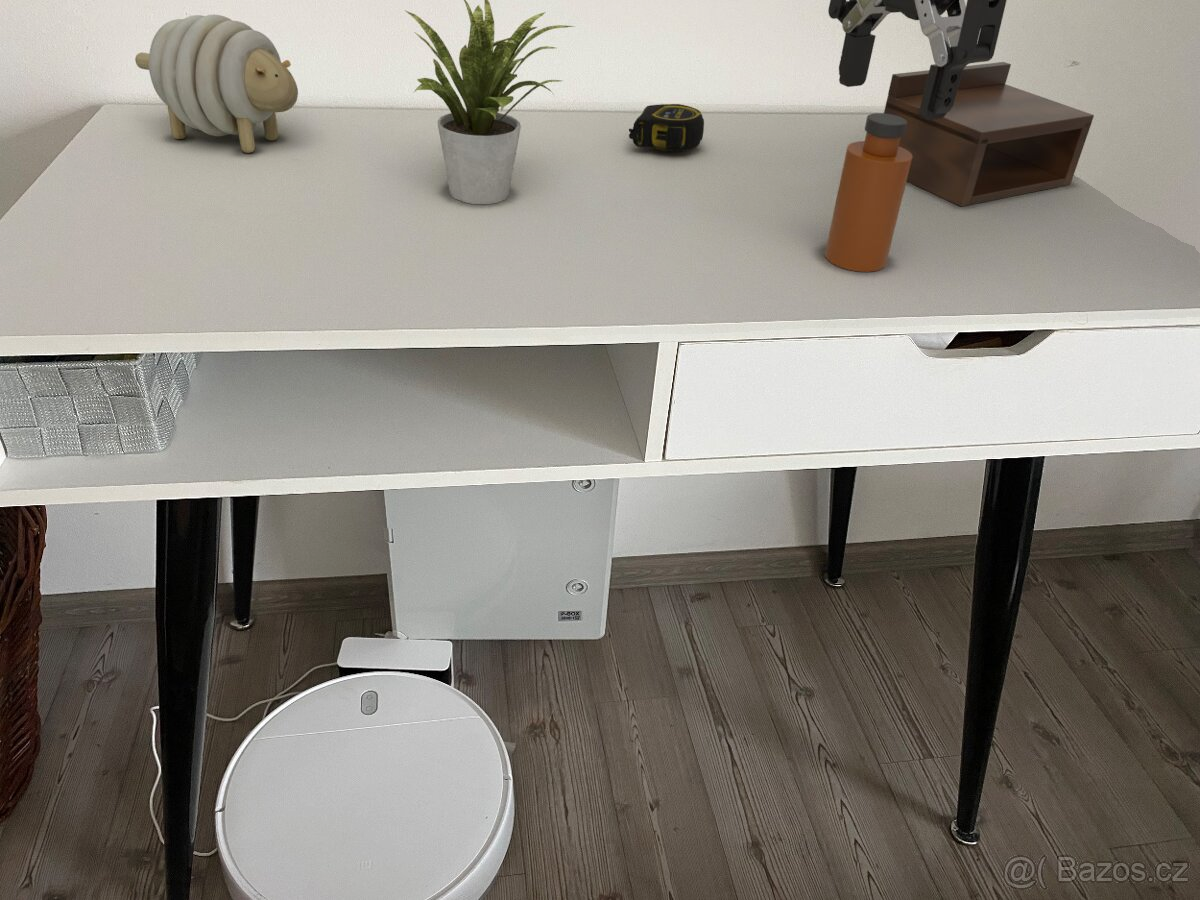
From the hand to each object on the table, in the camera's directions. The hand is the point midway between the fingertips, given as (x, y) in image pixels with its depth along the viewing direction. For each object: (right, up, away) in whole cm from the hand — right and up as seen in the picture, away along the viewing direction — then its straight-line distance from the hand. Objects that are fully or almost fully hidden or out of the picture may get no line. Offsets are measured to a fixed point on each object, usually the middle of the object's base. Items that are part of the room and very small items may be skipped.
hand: (889, 100), depth 76 cm
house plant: (-31, -4, +13) cm, 34 cm away
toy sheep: (-58, +4, +21) cm, 62 cm away
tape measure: (-16, +4, +27) cm, 32 cm away
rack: (+16, +2, +27) cm, 31 cm away
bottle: (-1, -11, +7) cm, 13 cm away
